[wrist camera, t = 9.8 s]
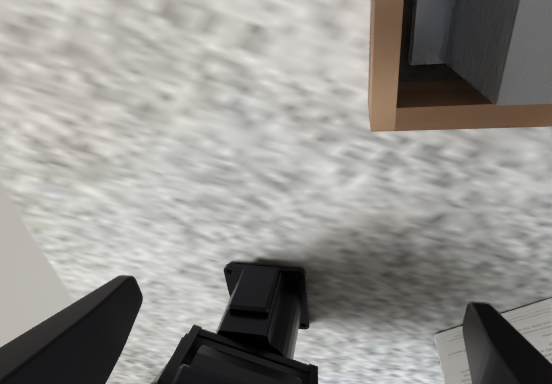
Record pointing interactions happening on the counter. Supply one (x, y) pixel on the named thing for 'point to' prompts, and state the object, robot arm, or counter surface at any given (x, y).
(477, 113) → the square frame
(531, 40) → the bracket
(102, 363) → the robot arm
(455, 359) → the supplement box
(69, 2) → the counter surface
